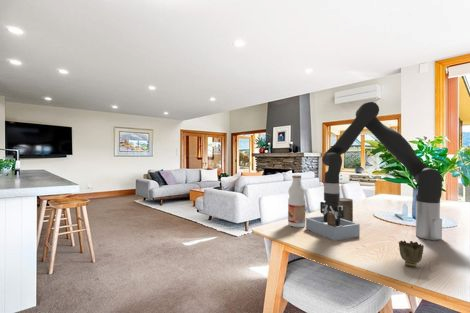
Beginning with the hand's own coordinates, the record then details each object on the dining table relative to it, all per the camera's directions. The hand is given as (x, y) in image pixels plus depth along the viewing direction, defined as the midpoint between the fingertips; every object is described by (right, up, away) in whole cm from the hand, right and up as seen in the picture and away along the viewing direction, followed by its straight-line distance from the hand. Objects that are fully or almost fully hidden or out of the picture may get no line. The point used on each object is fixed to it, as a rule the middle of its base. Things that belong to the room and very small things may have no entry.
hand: (331, 224), depth 131 cm
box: (0, -4, 0) cm, 4 cm away
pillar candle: (+14, -4, +19) cm, 25 cm away
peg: (0, -4, 0) cm, 4 cm away
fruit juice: (-15, -4, +13) cm, 20 cm away
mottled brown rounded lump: (+14, -5, -39) cm, 41 cm away
